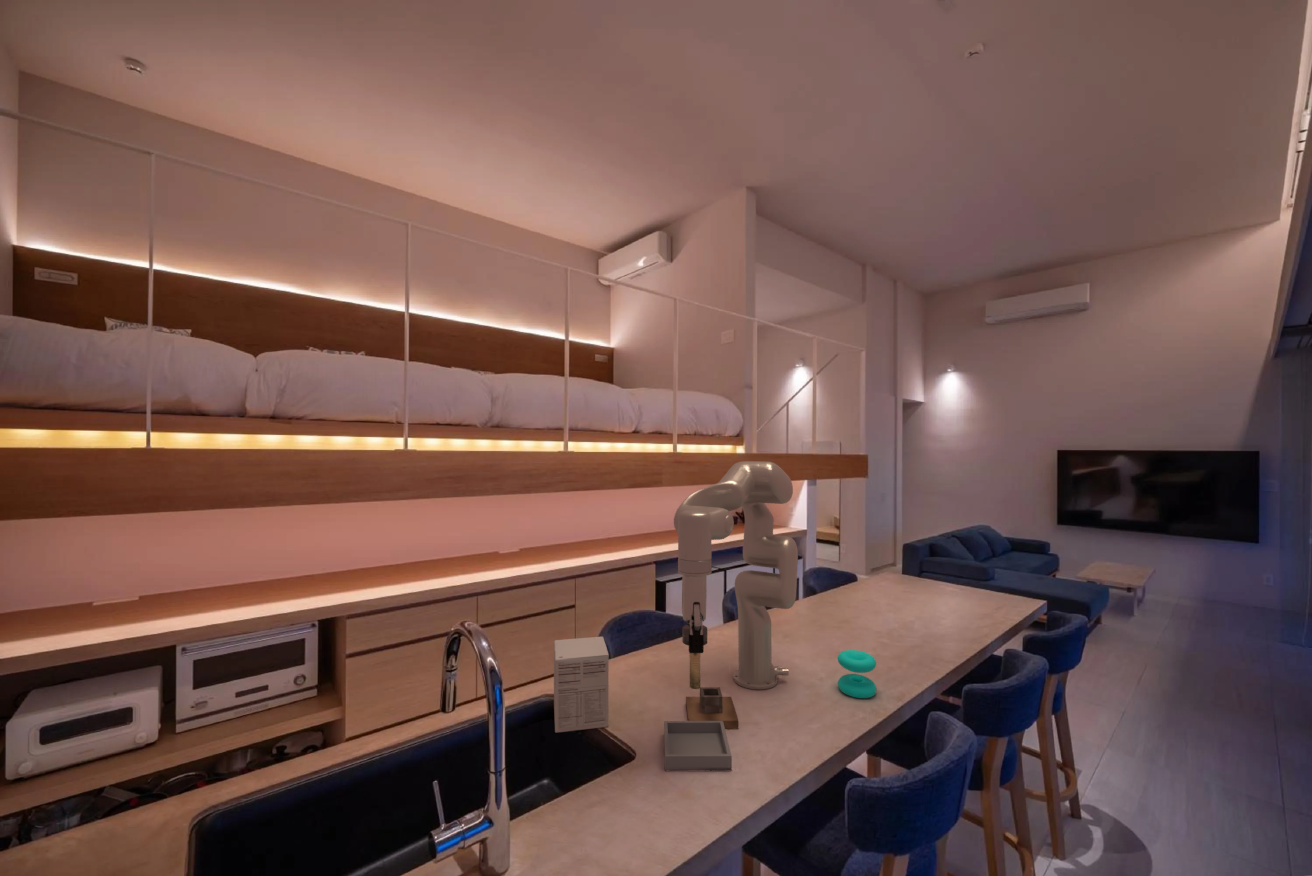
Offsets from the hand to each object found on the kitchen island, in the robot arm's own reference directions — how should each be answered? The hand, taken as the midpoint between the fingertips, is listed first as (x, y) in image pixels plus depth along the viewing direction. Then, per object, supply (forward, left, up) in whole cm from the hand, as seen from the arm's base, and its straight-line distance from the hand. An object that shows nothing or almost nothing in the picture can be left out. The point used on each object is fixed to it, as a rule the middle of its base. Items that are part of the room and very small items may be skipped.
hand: (695, 646), depth 115 cm
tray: (0, 0, -23) cm, 23 cm away
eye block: (-5, -15, -23) cm, 28 cm away
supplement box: (+28, -15, -23) cm, 40 cm away
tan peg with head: (0, 0, -9) cm, 9 cm away
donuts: (-47, -28, -23) cm, 60 cm away
